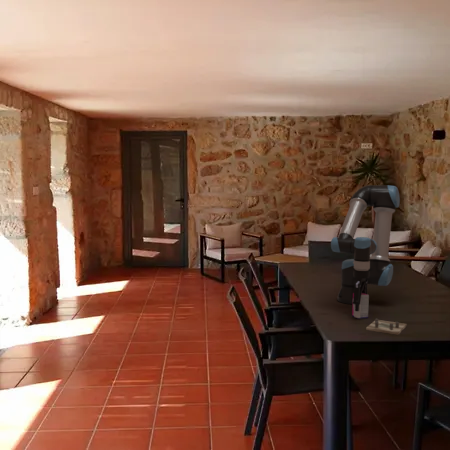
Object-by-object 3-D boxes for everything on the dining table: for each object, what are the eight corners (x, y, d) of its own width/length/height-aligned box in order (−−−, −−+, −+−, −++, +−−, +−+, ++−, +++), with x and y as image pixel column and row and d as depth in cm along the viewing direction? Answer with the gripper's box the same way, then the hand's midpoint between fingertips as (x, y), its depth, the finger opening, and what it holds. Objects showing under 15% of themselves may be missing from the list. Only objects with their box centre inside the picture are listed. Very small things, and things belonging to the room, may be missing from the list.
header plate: (376, 321, 254) (376, 314, 254) (406, 326, 247) (406, 318, 246) (366, 329, 240) (366, 322, 240) (398, 334, 233) (398, 326, 233)
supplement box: (368, 318, 260) (369, 294, 259) (357, 318, 258) (358, 295, 257) (362, 315, 266) (362, 292, 264) (351, 315, 264) (352, 292, 263)
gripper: (360, 265, 271) (358, 310, 273) (347, 271, 253) (345, 319, 255) (375, 267, 267) (373, 312, 269) (362, 273, 249) (361, 321, 251)
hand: (359, 315), depth 262 cm, fingers closed on supplement box, 8 cm apart
